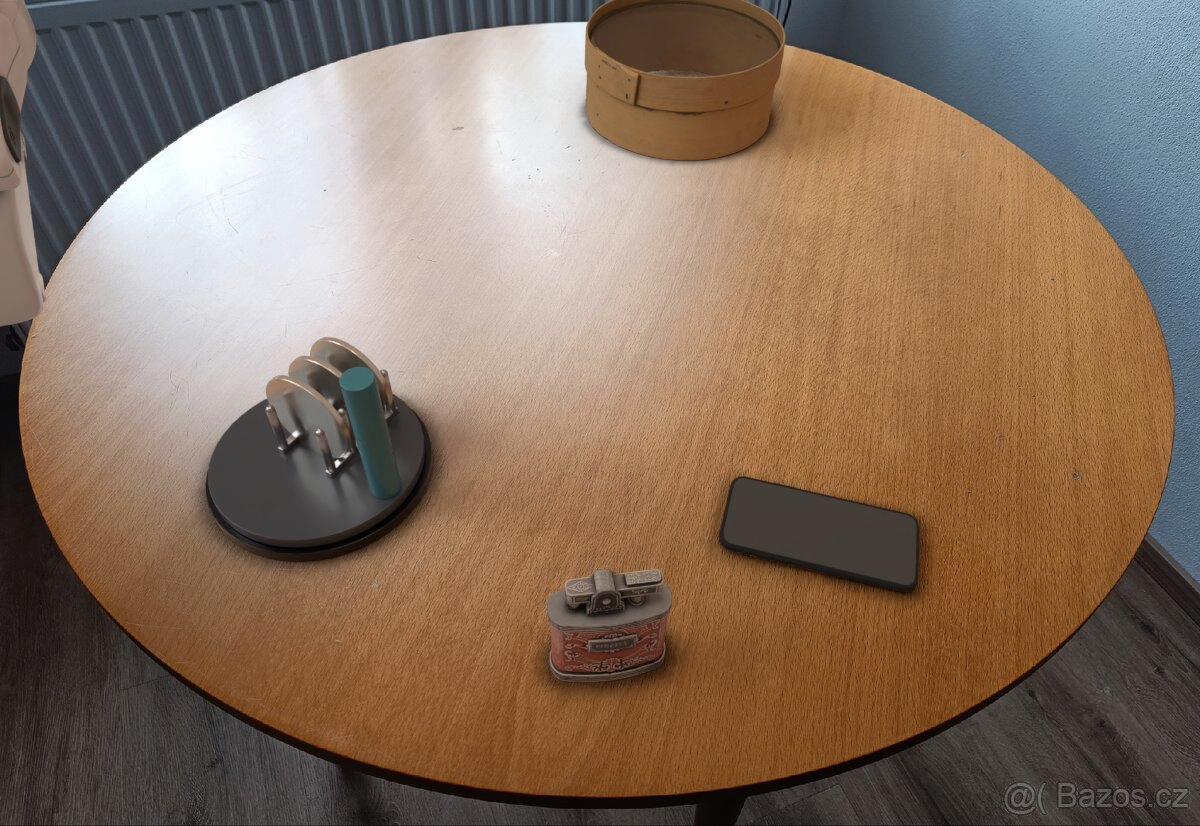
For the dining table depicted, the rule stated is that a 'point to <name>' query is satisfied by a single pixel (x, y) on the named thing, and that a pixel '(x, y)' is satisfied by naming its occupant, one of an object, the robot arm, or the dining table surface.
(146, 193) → the dining table surface
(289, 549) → the rack base
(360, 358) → the dish rack
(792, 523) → the smartphone
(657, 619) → the lighter
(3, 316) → the robot arm
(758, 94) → the steamer basket
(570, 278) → the dining table surface
